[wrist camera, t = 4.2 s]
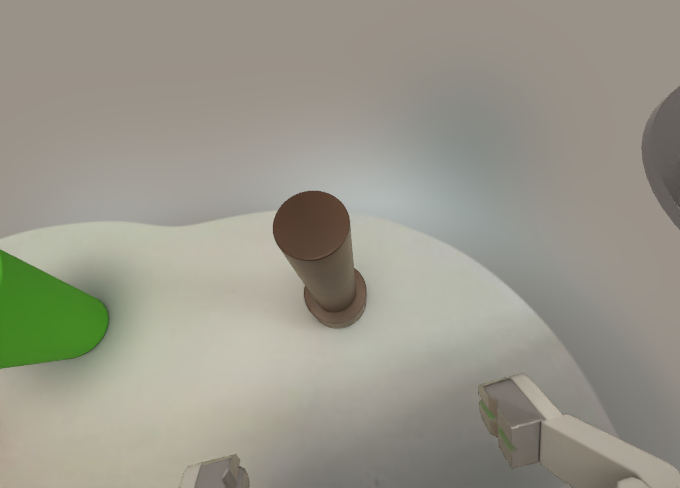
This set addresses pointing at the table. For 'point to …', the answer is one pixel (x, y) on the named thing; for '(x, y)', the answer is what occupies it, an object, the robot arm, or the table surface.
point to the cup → (44, 316)
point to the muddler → (322, 256)
